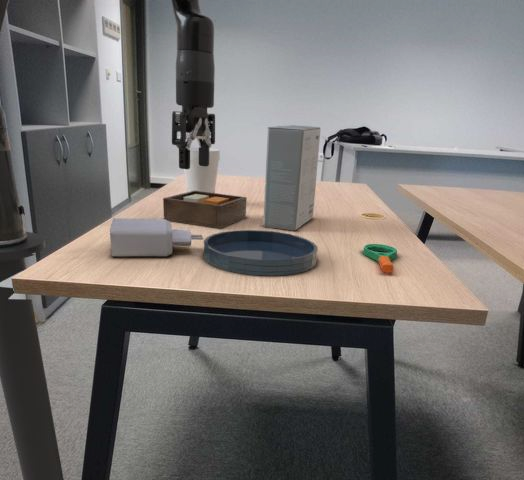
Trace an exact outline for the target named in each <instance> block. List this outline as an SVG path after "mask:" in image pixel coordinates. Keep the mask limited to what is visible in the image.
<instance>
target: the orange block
mask: <svg viewBox="0 0 524 480" xmlns="http://www.w3.org/2000/svg"><path fill="white" fill-rule="evenodd" d="M227 202H229V198H222V197H212V198H209V199H205V200H204V203H206V204H213V205H221V204H224V203H227Z"/></svg>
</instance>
